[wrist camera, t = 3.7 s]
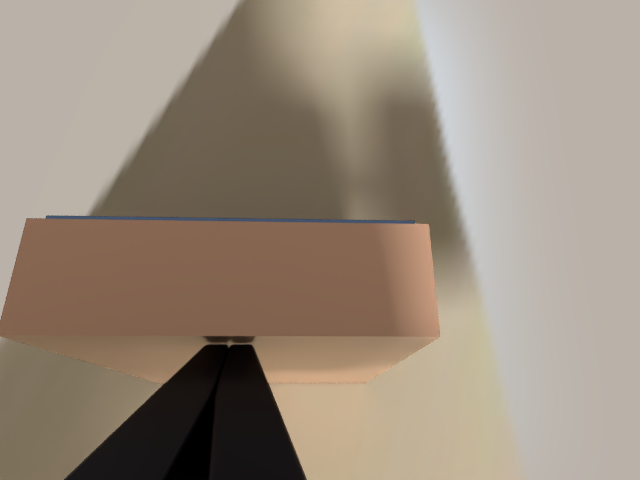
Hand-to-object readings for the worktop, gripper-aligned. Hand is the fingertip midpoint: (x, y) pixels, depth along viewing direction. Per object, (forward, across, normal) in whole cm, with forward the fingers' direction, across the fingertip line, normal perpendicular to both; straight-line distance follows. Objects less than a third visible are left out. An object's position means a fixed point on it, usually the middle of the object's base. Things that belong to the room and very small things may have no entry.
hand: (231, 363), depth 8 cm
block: (+6, 0, +5) cm, 8 cm away
